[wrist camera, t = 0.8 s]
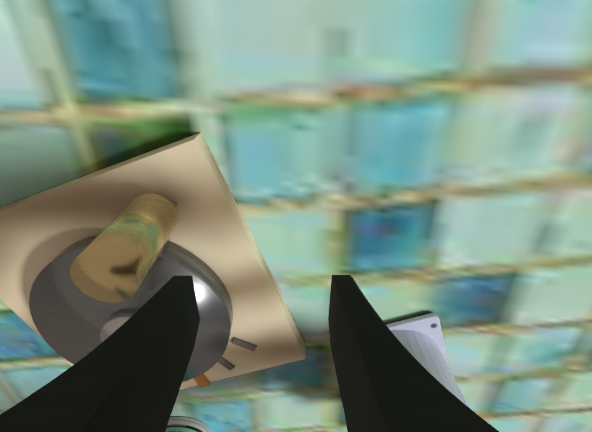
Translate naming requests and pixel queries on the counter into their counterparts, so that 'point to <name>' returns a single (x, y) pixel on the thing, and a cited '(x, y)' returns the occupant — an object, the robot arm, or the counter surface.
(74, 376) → the robot arm
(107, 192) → the stand
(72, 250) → the metal pan with handle
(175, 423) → the spray can
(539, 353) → the counter surface
